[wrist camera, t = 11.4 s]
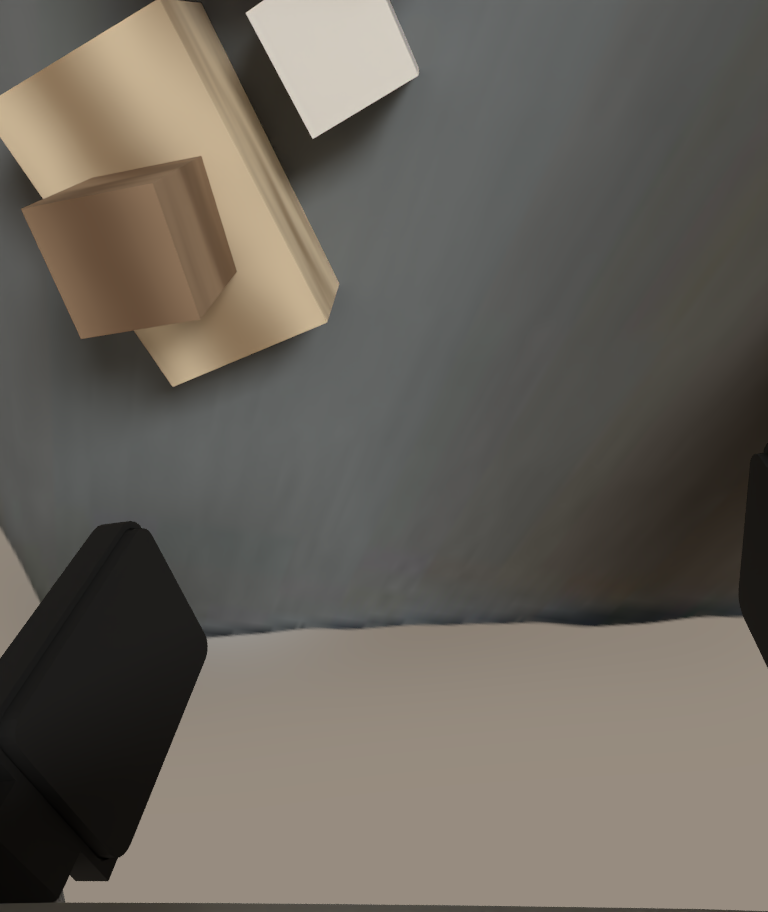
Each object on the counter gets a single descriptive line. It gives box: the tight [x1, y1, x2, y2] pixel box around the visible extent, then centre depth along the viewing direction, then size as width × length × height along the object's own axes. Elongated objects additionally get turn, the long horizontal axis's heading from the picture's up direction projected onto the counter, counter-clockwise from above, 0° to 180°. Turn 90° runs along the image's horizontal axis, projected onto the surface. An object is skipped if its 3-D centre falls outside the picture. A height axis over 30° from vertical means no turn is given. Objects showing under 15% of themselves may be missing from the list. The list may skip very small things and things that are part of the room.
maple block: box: [0, 0, 339, 387], centre depth 31 cm, size 9×14×6 cm, turn 24°
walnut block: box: [21, 156, 237, 339], centre depth 26 cm, size 5×5×6 cm
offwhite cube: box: [246, 0, 419, 139], centre depth 28 cm, size 5×5×5 cm
